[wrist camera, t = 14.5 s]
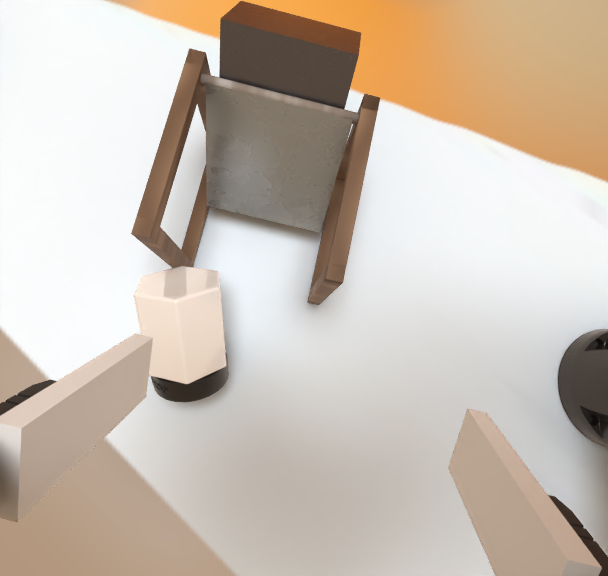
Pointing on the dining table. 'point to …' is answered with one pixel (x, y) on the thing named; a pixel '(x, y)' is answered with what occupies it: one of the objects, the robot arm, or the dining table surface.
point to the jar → (183, 332)
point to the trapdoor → (278, 116)
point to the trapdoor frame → (166, 165)
